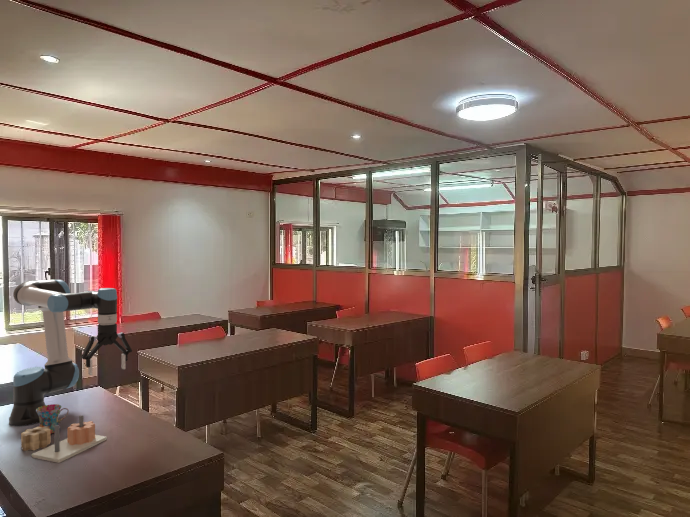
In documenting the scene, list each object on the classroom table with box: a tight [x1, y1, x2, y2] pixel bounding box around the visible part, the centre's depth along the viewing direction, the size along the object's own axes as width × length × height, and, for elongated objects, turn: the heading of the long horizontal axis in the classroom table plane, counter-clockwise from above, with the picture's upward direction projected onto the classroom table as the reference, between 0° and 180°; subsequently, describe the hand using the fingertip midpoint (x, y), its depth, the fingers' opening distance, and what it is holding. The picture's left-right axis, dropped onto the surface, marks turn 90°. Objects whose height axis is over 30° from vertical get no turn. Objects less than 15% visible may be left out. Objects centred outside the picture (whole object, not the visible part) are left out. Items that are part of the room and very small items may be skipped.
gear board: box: [31, 414, 108, 464], centre depth 184 cm, size 14×22×11 cm, turn 162°
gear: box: [20, 426, 52, 452], centre depth 186 cm, size 10×10×6 cm
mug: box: [36, 403, 69, 435], centre depth 201 cm, size 12×9×11 cm
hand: (107, 371), depth 203 cm, fingers open, 13 cm apart
